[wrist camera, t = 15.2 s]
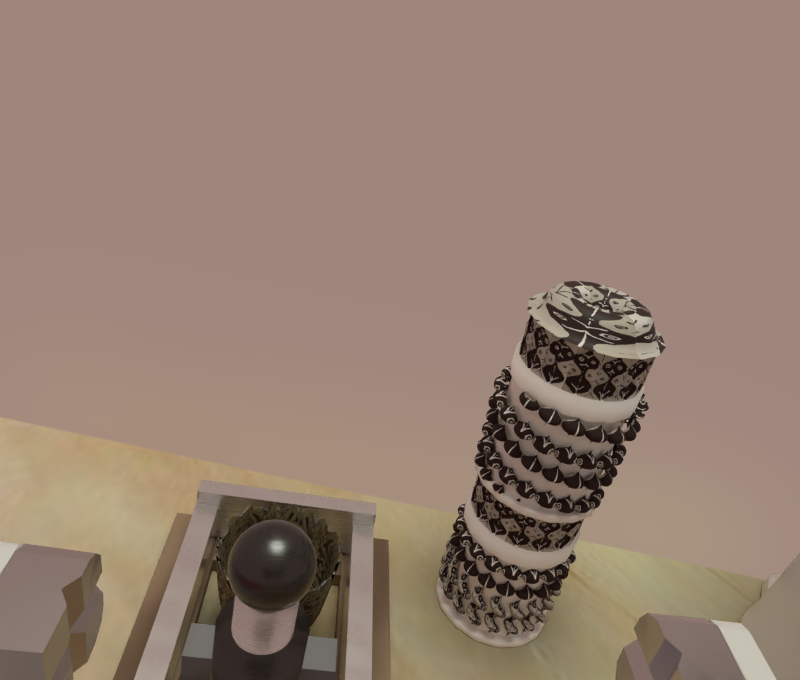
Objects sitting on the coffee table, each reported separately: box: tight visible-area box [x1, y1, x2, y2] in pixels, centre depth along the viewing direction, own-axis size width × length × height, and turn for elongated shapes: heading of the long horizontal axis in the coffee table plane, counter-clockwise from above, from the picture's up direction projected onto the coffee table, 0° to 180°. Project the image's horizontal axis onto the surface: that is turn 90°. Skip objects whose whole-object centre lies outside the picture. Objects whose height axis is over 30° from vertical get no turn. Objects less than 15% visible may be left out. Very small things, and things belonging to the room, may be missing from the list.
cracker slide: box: [134, 480, 376, 680], centre depth 35 cm, size 12×21×19 cm, turn 2°
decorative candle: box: [436, 281, 666, 648], centre depth 43 cm, size 9×9×25 cm
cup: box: [215, 502, 342, 627], centre depth 41 cm, size 8×7×8 cm
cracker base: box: [113, 513, 390, 680], centre depth 40 cm, size 16×22×6 cm
